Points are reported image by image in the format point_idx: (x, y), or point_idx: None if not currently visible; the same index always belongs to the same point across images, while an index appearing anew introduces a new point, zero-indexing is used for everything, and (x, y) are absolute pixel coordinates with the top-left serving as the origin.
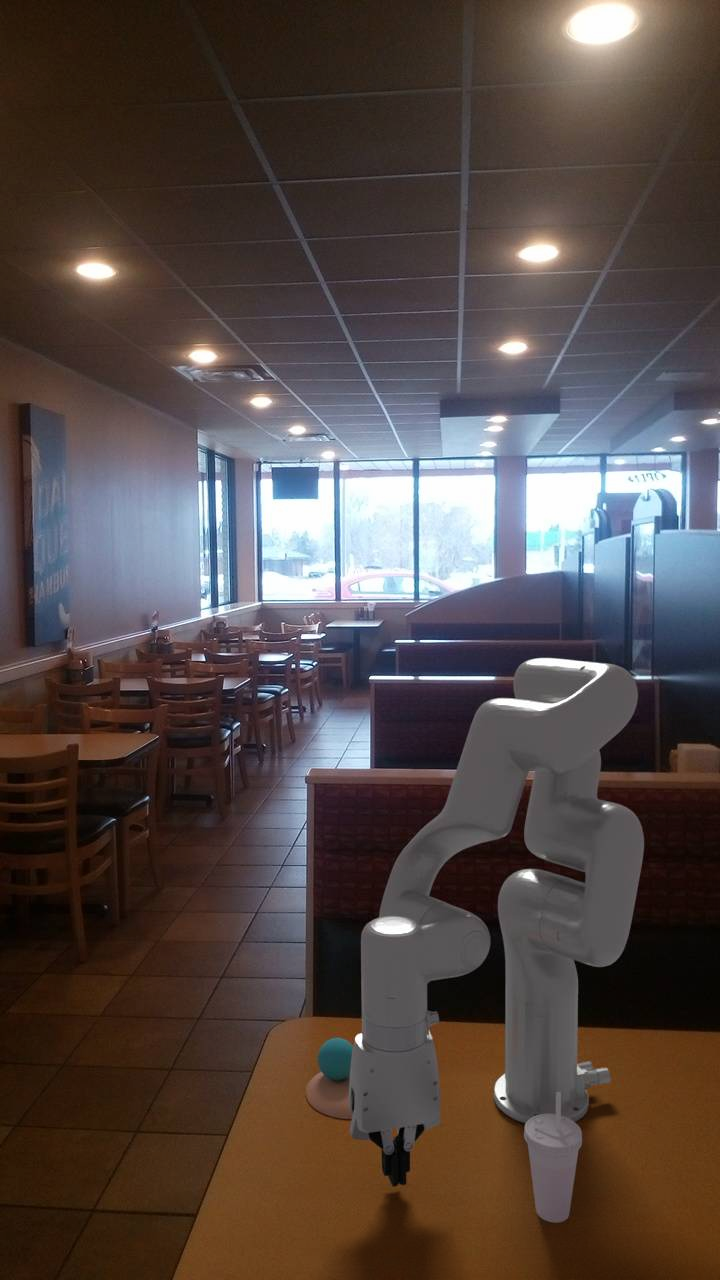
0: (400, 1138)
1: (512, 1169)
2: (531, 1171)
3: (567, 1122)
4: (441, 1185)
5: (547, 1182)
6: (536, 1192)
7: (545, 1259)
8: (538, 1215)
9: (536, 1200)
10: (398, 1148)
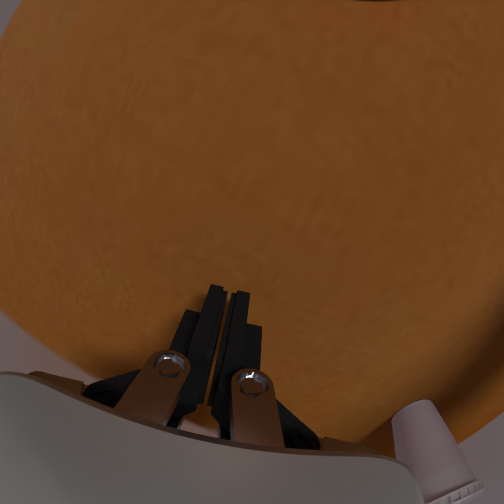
0: (222, 412)
1: (457, 338)
2: (408, 463)
3: (469, 500)
4: (331, 327)
5: None
6: (397, 446)
7: None
8: (393, 416)
9: (397, 432)
10: (214, 392)
